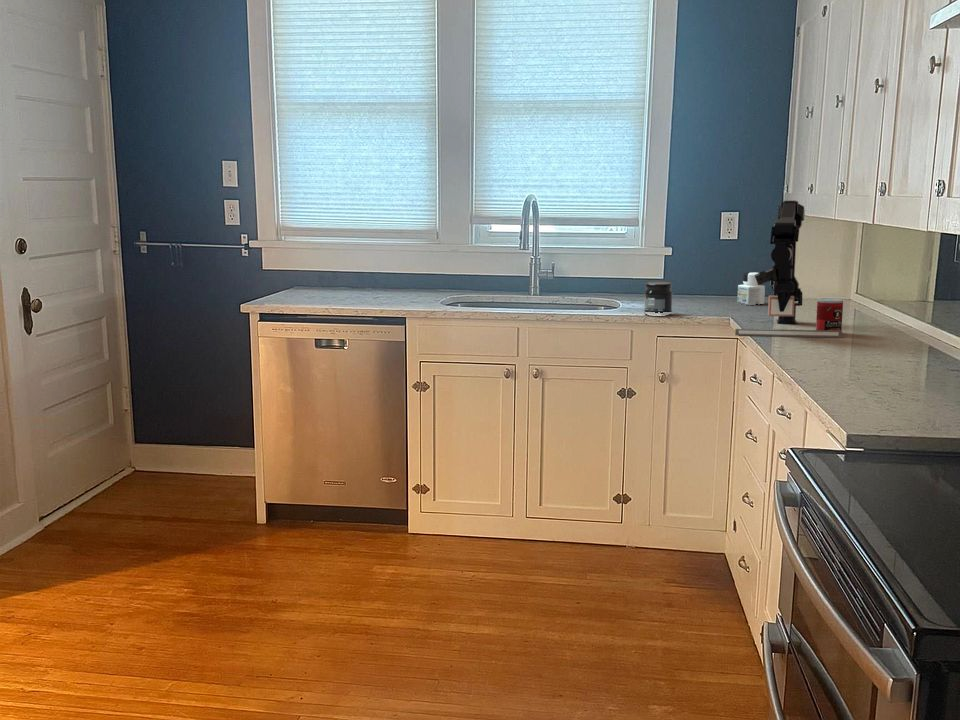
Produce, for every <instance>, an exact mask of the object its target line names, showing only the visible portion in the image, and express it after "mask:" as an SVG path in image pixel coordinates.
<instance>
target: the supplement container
mask: <svg viewBox="0 0 960 720" xmlns="http://www.w3.org/2000/svg"><path fill="white" fill-rule="evenodd" d="M643 294H644V300H643V301H644V305H643V312H644V311H645V312H655V313H658V312H660V313H663V312H672V313H673V294H674V292H673V291H672V282H669V281H667V282H666V281H649V282H646V283H645V291H644V292H643Z"/></svg>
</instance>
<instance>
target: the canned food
mask: <svg viewBox="0 0 960 720" xmlns="http://www.w3.org/2000/svg"><path fill="white" fill-rule="evenodd" d="M816 303H817V304H816V320H815V321H816V323H815V330H833V331H842V332H843V329H842V328H843V313H844V312H843V310H844V299H842V298H831V297H830V298H829V297H824V298H821V297H820V298H817V302H816Z"/></svg>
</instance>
